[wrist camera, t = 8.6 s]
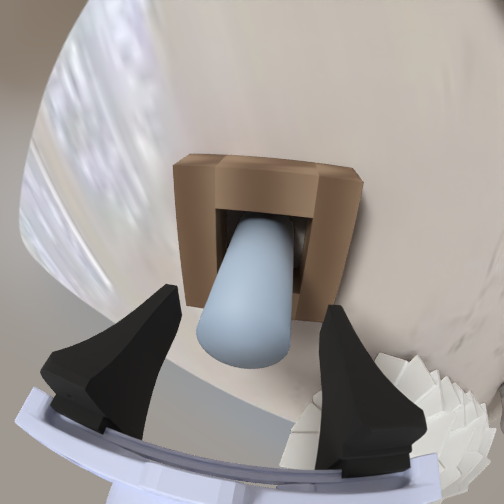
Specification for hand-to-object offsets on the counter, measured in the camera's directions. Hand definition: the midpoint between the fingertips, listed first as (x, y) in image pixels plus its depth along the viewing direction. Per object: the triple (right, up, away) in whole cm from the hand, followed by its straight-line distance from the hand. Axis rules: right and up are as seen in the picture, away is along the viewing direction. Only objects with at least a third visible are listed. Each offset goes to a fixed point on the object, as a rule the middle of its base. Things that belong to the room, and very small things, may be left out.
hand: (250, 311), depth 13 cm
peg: (+1, +4, +7) cm, 8 cm away
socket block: (+1, +4, +7) cm, 8 cm away
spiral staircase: (+19, -14, +16) cm, 28 cm away
